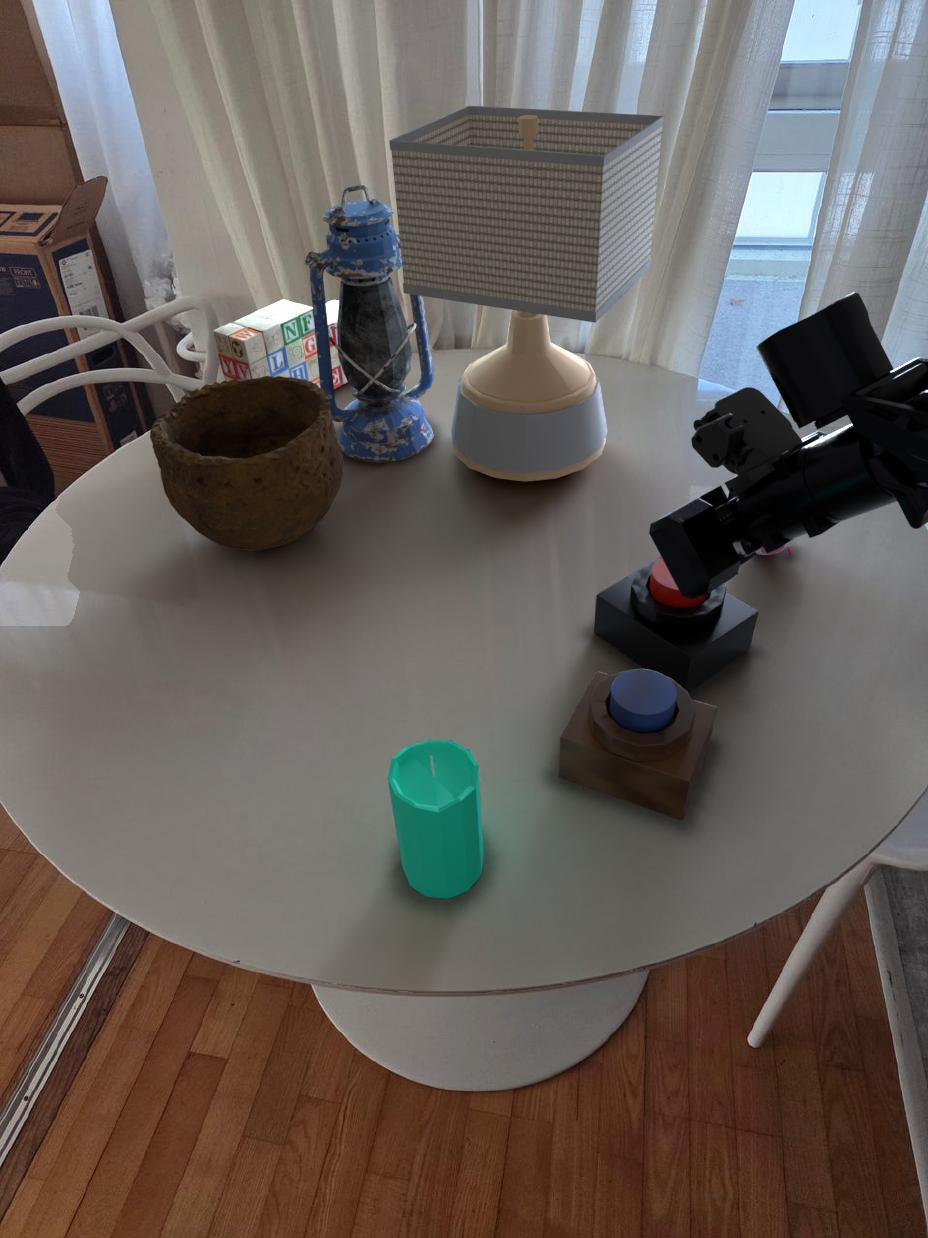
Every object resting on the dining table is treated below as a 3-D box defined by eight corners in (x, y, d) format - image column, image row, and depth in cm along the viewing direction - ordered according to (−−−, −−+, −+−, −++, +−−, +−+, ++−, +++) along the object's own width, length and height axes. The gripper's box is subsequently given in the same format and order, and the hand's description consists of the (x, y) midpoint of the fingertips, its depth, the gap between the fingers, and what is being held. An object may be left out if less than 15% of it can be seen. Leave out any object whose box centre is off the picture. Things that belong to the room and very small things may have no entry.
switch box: (750, 650, 78) (762, 595, 74) (683, 697, 74) (693, 641, 70) (658, 592, 85) (665, 539, 81) (593, 632, 81) (597, 578, 77)
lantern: (353, 476, 104) (313, 214, 84) (311, 436, 112) (265, 188, 92) (461, 438, 110) (446, 184, 90) (413, 402, 118) (391, 162, 98)
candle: (388, 883, 62) (368, 779, 54) (422, 818, 66) (408, 712, 58) (465, 910, 60) (456, 805, 52) (495, 841, 64) (491, 735, 56)
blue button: (681, 698, 66) (684, 679, 64) (662, 742, 63) (665, 723, 61) (621, 680, 68) (623, 661, 66) (600, 721, 64) (602, 702, 63)
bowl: (197, 605, 87) (156, 478, 77) (174, 510, 100) (136, 392, 90) (374, 557, 92) (356, 432, 82) (329, 473, 105) (309, 357, 95)
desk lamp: (638, 435, 108) (670, 101, 84) (580, 513, 96) (598, 148, 72) (485, 404, 116) (474, 92, 92) (414, 472, 104) (379, 132, 80)
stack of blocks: (343, 359, 129) (331, 277, 121) (373, 369, 126) (363, 285, 118) (233, 416, 117) (211, 328, 109) (263, 429, 114) (242, 339, 106)
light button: (719, 592, 75) (722, 573, 74) (680, 616, 73) (683, 598, 72) (675, 566, 78) (678, 547, 77) (637, 588, 76) (639, 570, 75)
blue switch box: (709, 746, 70) (721, 690, 66) (681, 820, 65) (692, 765, 60) (593, 709, 74) (597, 654, 69) (558, 776, 68) (560, 721, 64)
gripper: (860, 332, 62) (715, 417, 76) (686, 418, 53) (560, 496, 67) (930, 469, 62) (773, 529, 76) (768, 576, 54) (626, 621, 68)
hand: (687, 540), depth 72 cm, fingers closed
